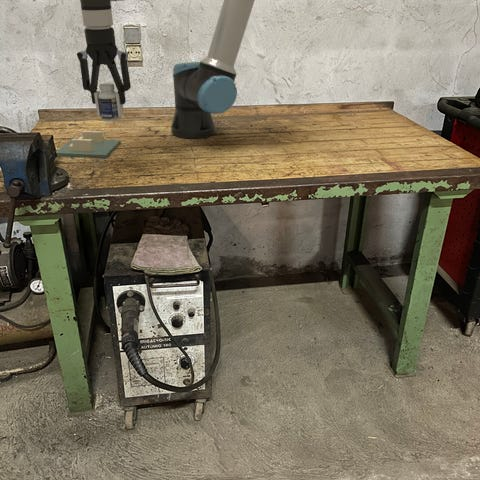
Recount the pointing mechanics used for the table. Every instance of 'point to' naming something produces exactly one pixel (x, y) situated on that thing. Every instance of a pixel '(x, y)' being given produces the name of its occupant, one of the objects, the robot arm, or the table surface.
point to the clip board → (89, 146)
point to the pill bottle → (108, 103)
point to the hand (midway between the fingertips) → (110, 115)
